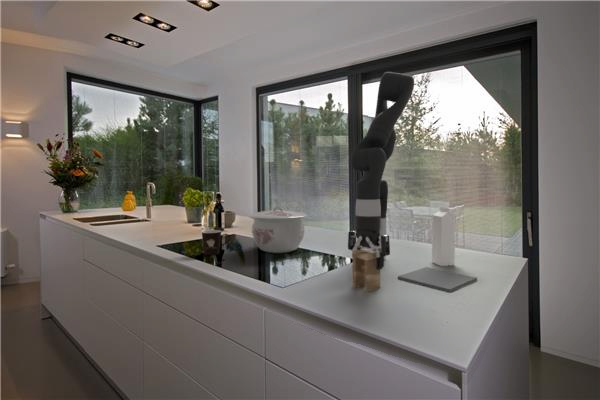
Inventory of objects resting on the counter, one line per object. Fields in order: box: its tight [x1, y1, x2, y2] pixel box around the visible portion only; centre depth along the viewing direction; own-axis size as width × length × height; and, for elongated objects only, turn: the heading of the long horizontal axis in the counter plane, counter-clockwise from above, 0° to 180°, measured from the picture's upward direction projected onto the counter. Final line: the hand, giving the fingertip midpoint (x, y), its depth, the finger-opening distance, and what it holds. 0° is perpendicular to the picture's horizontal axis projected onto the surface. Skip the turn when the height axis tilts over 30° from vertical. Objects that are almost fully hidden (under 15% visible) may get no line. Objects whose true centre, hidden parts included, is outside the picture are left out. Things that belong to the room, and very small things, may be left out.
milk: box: [431, 206, 457, 267], centre depth 135 cm, size 6×6×22 cm
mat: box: [397, 266, 478, 293], centre depth 115 cm, size 18×18×1 cm
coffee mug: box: [201, 229, 231, 256], centre depth 156 cm, size 12×9×10 cm
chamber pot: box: [248, 206, 309, 254], centre depth 162 cm, size 28×28×21 cm
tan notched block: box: [351, 248, 381, 293], centre depth 107 cm, size 6×6×11 cm
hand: (368, 266), depth 107 cm, fingers open, 8 cm apart
